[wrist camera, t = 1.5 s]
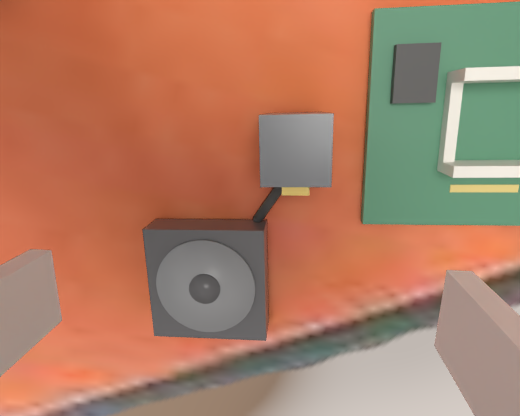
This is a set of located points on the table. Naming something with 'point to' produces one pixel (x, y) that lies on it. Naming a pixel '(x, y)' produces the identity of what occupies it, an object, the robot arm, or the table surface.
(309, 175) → the plug
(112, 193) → the table surface
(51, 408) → the table surface
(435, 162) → the board
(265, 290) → the speaker
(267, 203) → the rod
